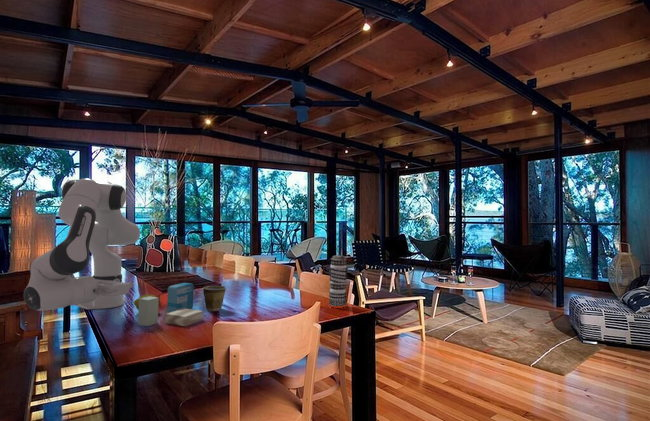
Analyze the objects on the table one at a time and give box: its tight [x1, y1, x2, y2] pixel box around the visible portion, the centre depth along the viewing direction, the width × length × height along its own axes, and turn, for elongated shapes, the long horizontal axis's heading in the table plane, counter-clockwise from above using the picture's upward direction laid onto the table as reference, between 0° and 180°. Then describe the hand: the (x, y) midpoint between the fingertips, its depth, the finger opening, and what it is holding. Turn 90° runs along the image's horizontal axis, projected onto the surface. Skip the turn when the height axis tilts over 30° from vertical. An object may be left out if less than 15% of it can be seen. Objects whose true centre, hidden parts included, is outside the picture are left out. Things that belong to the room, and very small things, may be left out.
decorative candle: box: [328, 254, 348, 306], centre depth 182 cm, size 9×9×25 cm
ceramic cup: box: [202, 285, 226, 312], centre depth 171 cm, size 13×10×10 cm
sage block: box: [137, 296, 160, 327], centre depth 145 cm, size 5×5×10 cm
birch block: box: [165, 308, 204, 327], centre depth 149 cm, size 10×10×4 cm
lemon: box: [133, 294, 160, 310], centre depth 160 cm, size 11×8×8 cm
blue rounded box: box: [166, 282, 195, 314], centre depth 165 cm, size 12×4×12 cm, turn 162°
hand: (122, 283), depth 134 cm, fingers open, 8 cm apart
